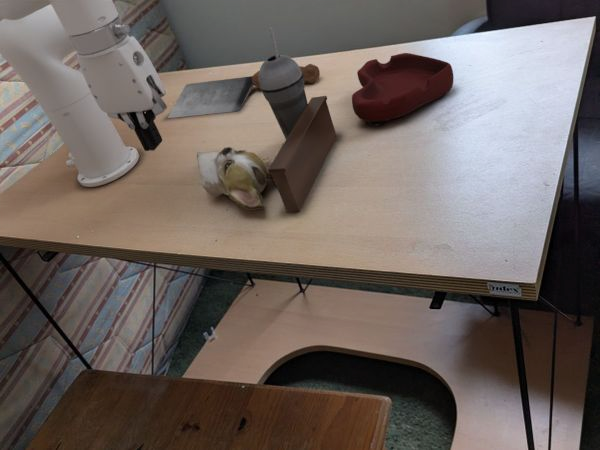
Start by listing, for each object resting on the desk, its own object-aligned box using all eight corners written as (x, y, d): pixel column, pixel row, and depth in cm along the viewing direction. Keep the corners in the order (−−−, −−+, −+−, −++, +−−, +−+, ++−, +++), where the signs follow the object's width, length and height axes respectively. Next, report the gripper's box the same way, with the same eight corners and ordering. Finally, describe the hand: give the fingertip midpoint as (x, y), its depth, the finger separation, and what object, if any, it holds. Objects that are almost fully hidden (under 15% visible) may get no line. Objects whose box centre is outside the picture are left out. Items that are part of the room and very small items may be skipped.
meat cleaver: (166, 118, 122) (158, 102, 120) (191, 93, 130) (184, 77, 127) (304, 105, 107) (298, 86, 105) (323, 77, 115) (318, 59, 112)
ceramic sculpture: (213, 125, 89) (289, 133, 81) (231, 169, 94) (304, 180, 86) (170, 163, 83) (247, 177, 75) (192, 208, 88) (266, 225, 80)
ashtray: (457, 116, 86) (453, 87, 83) (355, 134, 91) (348, 107, 88) (453, 67, 100) (449, 41, 97) (364, 86, 105) (358, 61, 102)
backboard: (285, 212, 80) (267, 169, 75) (324, 137, 94) (311, 97, 89) (301, 212, 79) (284, 168, 74) (338, 136, 93) (326, 95, 88)
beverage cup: (289, 133, 99) (251, 24, 87) (327, 129, 96) (293, 15, 84) (276, 156, 94) (233, 43, 82) (316, 152, 91) (277, 35, 79)
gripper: (155, 18, 78) (203, 130, 89) (75, 32, 84) (129, 135, 95) (127, 42, 73) (182, 157, 84) (44, 55, 79) (105, 161, 90)
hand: (154, 145), depth 89 cm, fingers closed
